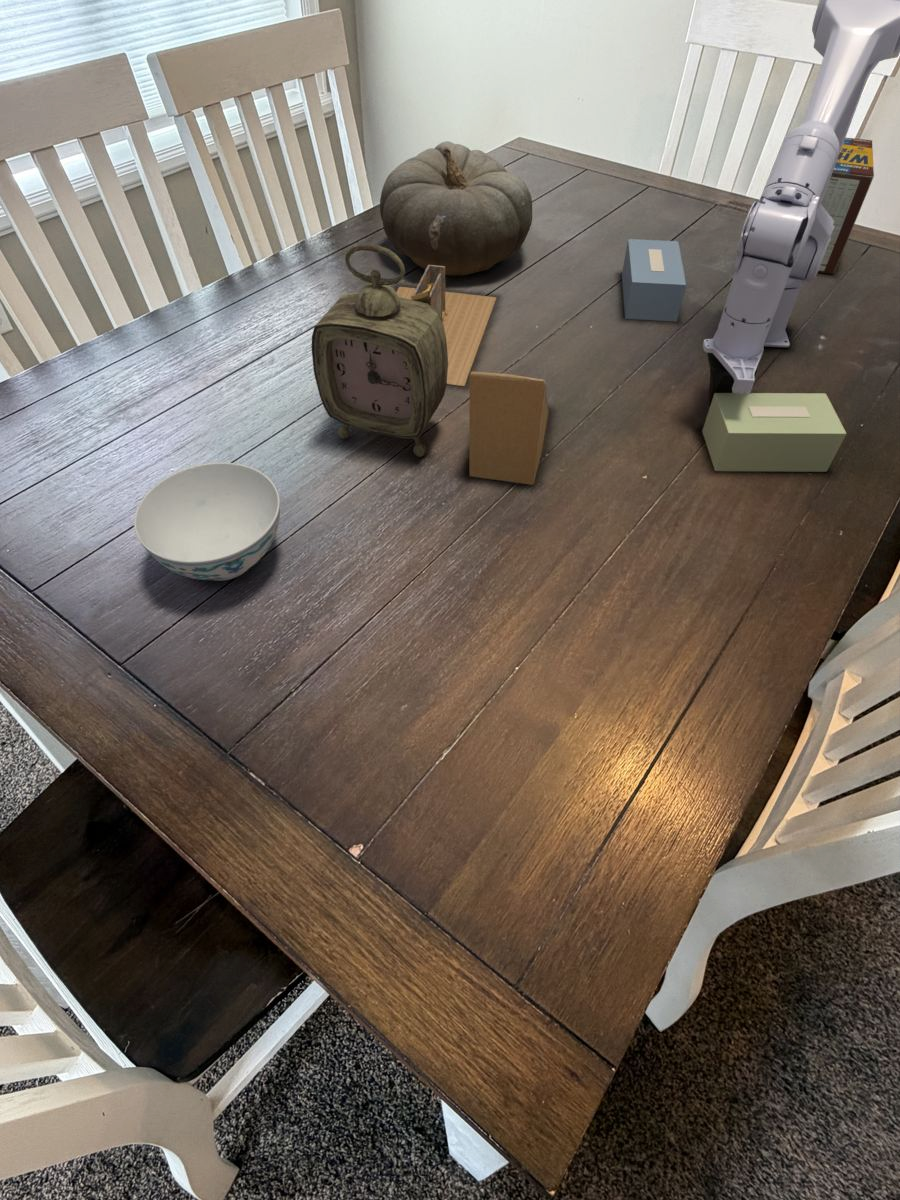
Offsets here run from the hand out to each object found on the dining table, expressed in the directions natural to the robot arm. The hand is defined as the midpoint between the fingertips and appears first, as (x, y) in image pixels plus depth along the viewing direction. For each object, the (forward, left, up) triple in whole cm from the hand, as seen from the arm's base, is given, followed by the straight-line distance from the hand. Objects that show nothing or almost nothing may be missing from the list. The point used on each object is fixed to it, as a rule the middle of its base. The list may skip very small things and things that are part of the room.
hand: (716, 408), depth 96 cm
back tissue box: (-32, -6, -2) cm, 33 cm away
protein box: (-51, +22, -3) cm, 56 cm away
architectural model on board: (-18, -40, -3) cm, 44 cm away
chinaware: (+31, -57, -3) cm, 65 cm away
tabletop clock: (+7, -42, -3) cm, 43 cm away
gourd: (-43, -38, -3) cm, 58 cm away
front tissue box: (+5, +6, -2) cm, 8 cm away
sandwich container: (+7, -26, -3) cm, 27 cm away
